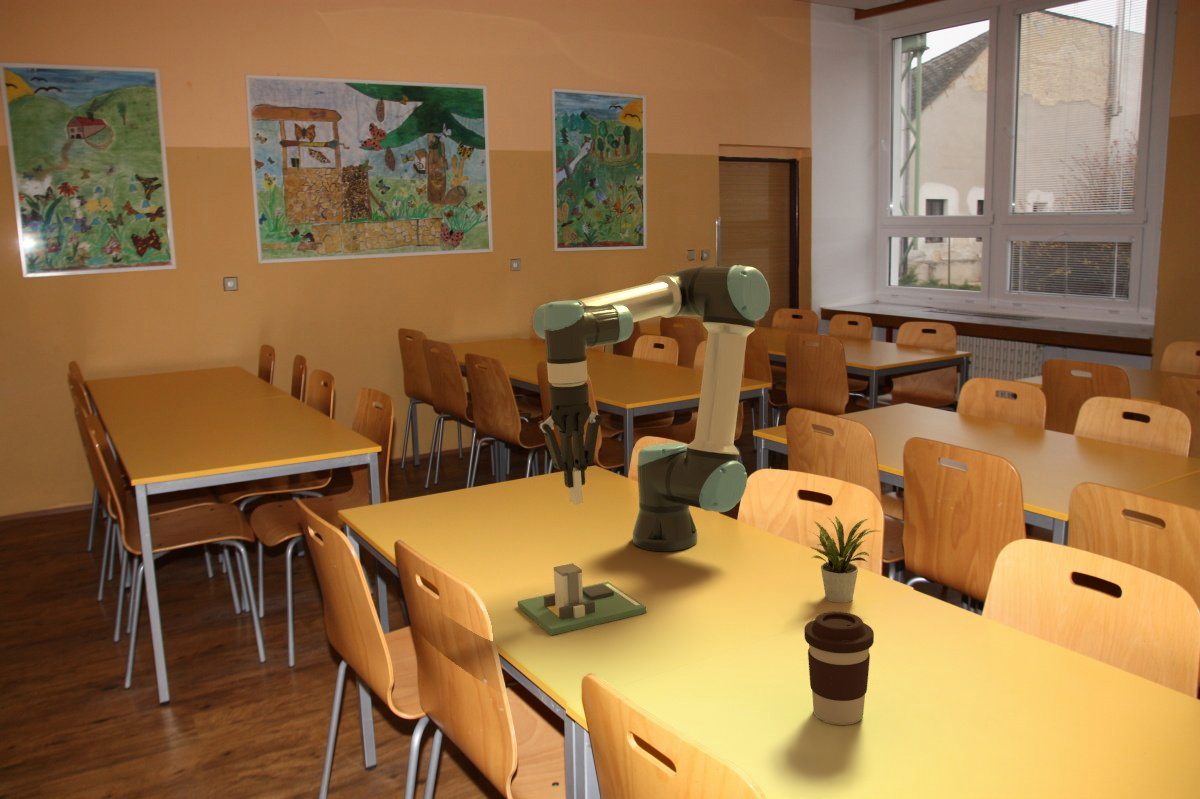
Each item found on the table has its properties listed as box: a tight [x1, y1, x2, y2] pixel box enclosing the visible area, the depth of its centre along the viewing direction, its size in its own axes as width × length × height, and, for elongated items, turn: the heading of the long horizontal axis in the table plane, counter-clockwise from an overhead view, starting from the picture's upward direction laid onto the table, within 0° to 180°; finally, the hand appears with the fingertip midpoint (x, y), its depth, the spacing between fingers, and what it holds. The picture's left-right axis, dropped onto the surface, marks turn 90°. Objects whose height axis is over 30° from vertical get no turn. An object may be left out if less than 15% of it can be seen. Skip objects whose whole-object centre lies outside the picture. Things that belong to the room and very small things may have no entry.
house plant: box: [807, 515, 880, 604], centre depth 189 cm, size 14×14×16 cm
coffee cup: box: [803, 610, 875, 726], centre depth 144 cm, size 10×10×15 cm
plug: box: [553, 562, 583, 609], centre depth 186 cm, size 4×4×8 cm
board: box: [517, 581, 647, 636], centre depth 189 cm, size 20×16×3 cm
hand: (576, 502), depth 189 cm, fingers closed
